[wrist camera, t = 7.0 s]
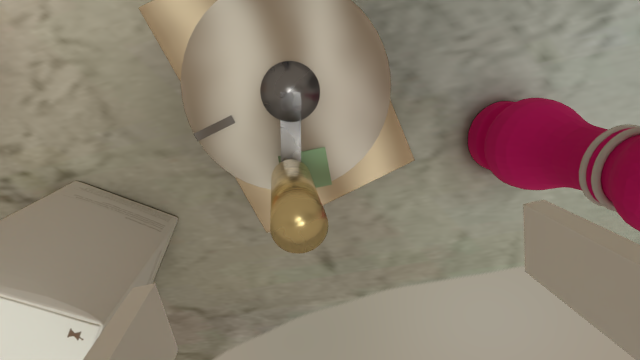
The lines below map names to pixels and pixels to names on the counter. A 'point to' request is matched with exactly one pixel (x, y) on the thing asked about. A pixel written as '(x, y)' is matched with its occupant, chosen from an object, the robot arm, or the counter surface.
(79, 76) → the counter surface
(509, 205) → the counter surface
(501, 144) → the pepper mill
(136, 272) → the supplement box
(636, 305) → the robot arm
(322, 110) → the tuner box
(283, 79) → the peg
